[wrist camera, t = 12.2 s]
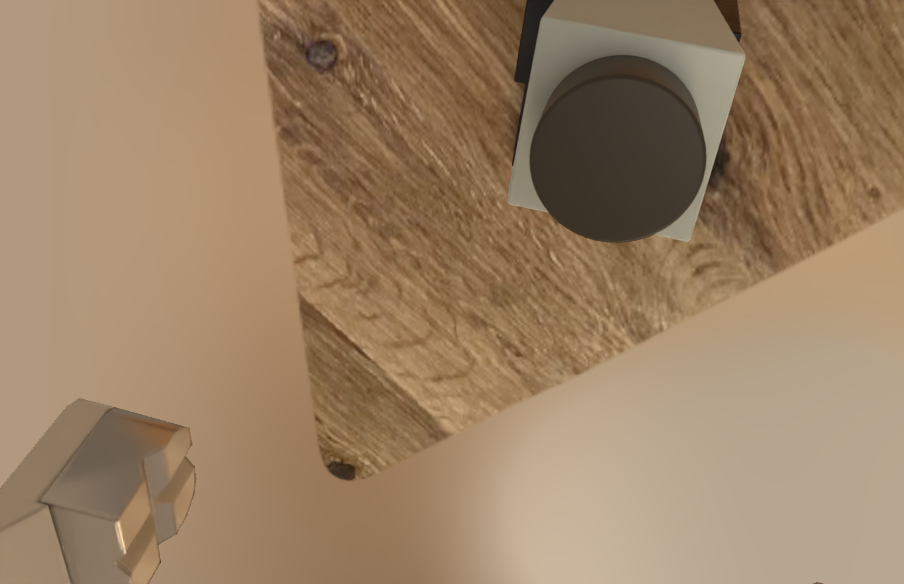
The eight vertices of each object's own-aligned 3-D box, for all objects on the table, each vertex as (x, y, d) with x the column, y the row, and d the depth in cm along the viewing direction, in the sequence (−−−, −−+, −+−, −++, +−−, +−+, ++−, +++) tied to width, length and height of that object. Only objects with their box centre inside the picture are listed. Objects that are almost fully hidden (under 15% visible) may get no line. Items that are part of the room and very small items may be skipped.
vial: (529, 32, 15) (491, 239, 17) (760, 75, 14) (695, 283, 16) (583, -43, 29) (559, 73, 31) (701, -22, 29) (670, 95, 30)
